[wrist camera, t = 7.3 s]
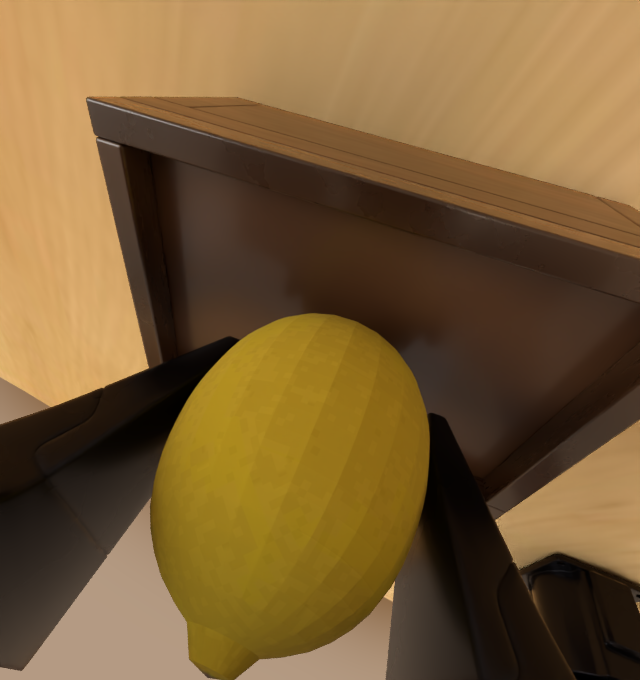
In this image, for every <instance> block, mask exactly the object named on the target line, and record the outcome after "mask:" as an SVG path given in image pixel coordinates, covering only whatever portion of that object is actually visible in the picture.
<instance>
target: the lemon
mask: <svg viewBox="0 0 640 680" xmlns="http://www.w3.org/2000/svg"><path fill="white" fill-rule="evenodd" d="M429 450H430V435H429V424H428V418H427V412H426V409H425V405H424V402H423V399H422V396H421V393H420V390H419V387H418V384H417V381H416V379H415V377H414V375H413V373H412V371H411V370H410V368H409V367H408V365H407V364H406V363H405V361H404V360H403V358H402V357H401V355H400V354H399V353H398V351H397V350H396V349H395V348H394V347H393V346H392V345H391V344H390V343H388V342H387V341H386V340H385V339H384V338H383V337H382V336H380V335H379V334H378V333H377V332H375V331H373V330H371V329H369V328H368V327H366V326H364V325H362V324H360V323H358V322H356V321H353V320H350V319H346V318H343V317H340V316H337V315H329V314H317V313H309V314H302V315H296V316H290V317H285V318H282V319H279V320H276V321H274V322H272V323H270V324H268V325H266V326H264V327H261V328H259V329H257V330H256V331H254V332H252V333H250V334H248V335H247V336H246V337H244V338H243V339H241V340H240V341H239V342H237V343H236V344H235V345H234V346H233V347H232V348H231V349H230V350H229V351H228V352H227V353H226V354H225V355H224V356H223V357H222V358H221V359H220V360H219V361H218V362H217V363H216V364H215V365H214V366H213V367H212V368H211V369H210V370H209V371H208V372H207V374H206V375H205V376H204V377H203V379H202V380H201V381H200V382H199V384H198V385H197V386H196V388H195V389H194V391H193V392H192V394H191V395H190V397H189V398H188V400H187V402H186V403H185V405H184V407H183V409H182V410H181V412H180V414H179V416H178V418H177V420H176V422H175V424H174V426H173V428H172V430H171V432H170V434H169V437H168V439H167V442H166V444H165V447H164V449H163V451H162V455H161V458H160V461H159V465H158V468H157V471H156V475H155V480H154V484H153V491H152V497H151V504H150V522H151V535H152V541H153V548H154V553H155V557H156V560H157V563H158V567H159V570H160V573H161V577H162V579H163V581H164V583H165V585H166V587H167V589H168V591H169V593H170V595H171V597H172V599H173V601H174V602H175V604H176V606H177V607H178V609H179V611H180V612H181V614H182V615H183V617H184V618H185V620H186V621H187V630H188V649H189V660H190V661H191V662H193V663H194V665H195V666H196V667H197V668H198V669H199V670H200V671H201V672H202V673H203V674H205V676H207V677H208V678H213V679H219V680H235V679H236V678H237V677H238V676H239V675H241V674H242V673H243V672H244V671H246V670H247V669H248V668H249V667H250V666H252V665H253V664H254V663H255V662H256V661H258V660H259V659H270V658H281V657H287V656H292V655H296V654H301V653H306V652H310V651H313V650H315V649H317V648H320V647H322V646H324V645H327V644H329V643H331V642H333V641H335V640H336V639H338V638H339V637H341V636H343V635H344V634H346V633H347V632H349V631H351V630H352V629H353V628H354V627H356V626H357V625H358V624H359V623H360V622H361V621H363V620H364V619H365V618H366V617H367V616H368V615H369V614H370V613H371V612H372V611H373V609H374V608H375V607H376V606H377V604H378V603H379V602H380V601H381V599H382V598H383V597H384V595H385V594H386V593H387V592H388V590H389V589H390V588H391V586H392V584H393V583H394V581H395V579H396V577H397V575H398V574H399V572H400V570H401V568H402V566H403V564H404V562H405V559H406V557H407V555H408V552H409V550H410V548H411V545H412V542H413V539H414V536H415V533H416V530H417V528H418V524H419V521H420V517H421V513H422V510H423V505H424V500H425V495H426V490H427V481H428V470H429Z"/></svg>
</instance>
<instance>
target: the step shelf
mask: <svg viewBox="0 0 640 680" xmlns="http://www.w3.org/2000/svg"><path fill="white" fill-rule="evenodd" d="M86 102H87V106H88V110H89V115H90V119H91V123H92V127H93V132H94V134H95V135H96V136H99V137H97V138H96V143H97V147H98V151H99V156H100V160H101V164H102V169H103V173H104V177H105V182H106V186H107V190H108V194H109V199H110V203H111V207H112V212H113V216H114V220H115V225H116V229H117V233H118V237H119V242H120V246H121V250H122V255H123V259H124V263H125V268H126V272H127V276H128V280H129V285H130V289H131V293H132V298H133V302H134V306H135V311H136V315H137V319H138V323H139V328H140V332H141V336H142V341H143V345H144V349H145V353H146V358H147V362H148V366H149V368H151V367H154V366H156V365H159V364H161V363H163V362H166V361H168V360H171V359H173V358H176V357H178V356H181V355H183V354H185V353H188V352H190V351H193V350H195V349H198V348H200V347H203V346H205V345H207V344H210V343H212V342H215V341H217V340H220V339H222V338H225V337H227V336H232V337H234V338H237V339H240V340H241V339H243V338H244V337H246V336H247V335H248V334H250V333H252V332H254V331H256V330H257V329H259V328H261V327H264V326H266V325H268V324H270V323H272V322H274V321H276V320H279V319H282V318H285V317H290V316H296V315H302V314H309V313H317V314H329V315H337V316H340V317H343V318H346V319H350V320H353V321H356V322H358V323H360V324H362V325H364V326H366V327H368V328H369V329H371V330H373V331H375V332H377V333H378V334H379V335H380V336H382V337H383V338H384V339H385V340H386V341H387V342H388V343H390V344H391V345H392V346H393V347H394V348H395V349H396V350H397V351H398V353H399V354H400V355H401V357H402V358H403V360H404V361H405V363H406V364H407V365H408V367H409V368H410V370H411V371H412V373H413V375H414V377H415V379H416V381H417V384H418V387H419V390H420V393H421V396H422V399H423V402H424V405H425V409H426V412H427V415H428V414H429V413H435V414H438V415H440V416H443V417H445V418H446V420H447V422H448V424H449V426H450V428H451V430H452V432H453V434H454V436H455V438H456V440H457V443H458V445H459V447H460V449H461V451H462V453H463V455H464V457H465V459H466V461H467V464H468V466H469V468H470V470H471V472H472V474H473V476H474V478H475V480H476V482H477V484H478V487H479V489H480V491H481V493H482V495H483V497H484V499H485V501H486V503H487V505H488V508H489V510H490V512H491V514H492V516H493V518H494V520H496V519H497V518H499V517H500V516H501V515H503V514H504V513H505V512H507V511H509V510H510V509H512V508H513V507H514V506H516V505H517V504H519V503H520V502H522V501H523V500H525V499H526V498H527V497H529V496H530V495H532V494H533V493H535V492H536V491H538V490H539V489H540V488H542V487H543V486H545V485H546V484H548V483H549V482H551V481H552V480H553V479H555V478H556V477H558V476H559V475H561V474H562V473H563V472H565V471H566V470H568V469H569V468H571V467H572V466H574V465H575V464H576V463H578V462H579V461H581V460H582V459H584V458H585V457H587V456H588V455H589V454H591V453H592V452H594V451H595V450H597V449H598V448H600V447H601V446H602V445H604V444H605V443H607V442H608V441H610V440H611V439H613V438H614V437H615V436H617V435H618V434H620V433H621V432H623V431H624V430H626V429H627V428H628V427H630V426H631V425H633V424H634V423H636V422H637V421H639V420H640V212H639V211H638V210H636V209H634V208H633V207H631V206H629V205H626V204H622V203H618V202H615V201H611V200H608V199H604V198H600V197H594V196H593V195H589V194H586V193H582V192H578V191H575V190H571V189H568V188H564V187H560V186H557V185H553V184H549V183H546V182H542V181H539V180H535V179H531V178H528V177H524V176H520V175H517V174H513V173H509V172H506V171H502V170H499V169H495V168H491V167H488V166H484V165H480V164H477V163H473V162H470V161H466V160H462V159H459V158H455V157H451V156H448V155H444V154H441V153H437V152H433V151H430V150H426V149H422V148H419V147H415V146H411V145H408V144H404V143H401V142H397V141H393V140H390V139H386V138H382V137H379V136H375V135H372V134H368V133H364V132H361V131H357V130H353V129H350V128H346V127H343V126H339V125H335V124H332V123H328V122H324V121H321V120H317V119H313V118H310V117H306V116H303V115H299V114H295V113H292V112H288V111H284V110H281V109H277V108H274V107H270V106H266V105H262V104H259V103H256V102H252V101H248V100H245V99H241V98H238V97H87V98H86Z"/></svg>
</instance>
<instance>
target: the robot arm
mask: <svg viewBox="0 0 640 680" xmlns="http://www.w3.org/2000/svg"><path fill="white" fill-rule="evenodd" d="M239 341H240V339H237V338H234V337H232V336H227V337H225V338H222V339H220V340H217V341H215V342H212V343H210V344H207V345H205V346H203V347H200V348H198V349H195V350H193V351H190V352H188V353H185V354H183V355H181V356H178V357H176V358H173V359H171V360H168V361H166V362H163V363H161V364H159V365H156V366H154V367H151V368H149V369H146V370H144V371H142V372H139V373H137V374H134V375H132V376H129V377H127V378H124V379H122V380H120V381H117V382H115V383H112V384H110V385H107V386H105V388H100V389H97V390H95V391H92V392H90V393H87V394H85V395H82V396H80V397H77V398H75V399H72V400H70V401H67V402H64V403H62V404H59V405H56V406H53V407H50V408H48V409H45V410H42V411H39V412H36V413H33V414H30V415H27V416H24V417H21V418H18V419H15V420H13V421H9V422H7V423H3V424H0V667H3V668H8V669H14V670H20V671H22V670H23V669H24V668H25V666H26V665H27V664H28V663H29V661H30V660H31V659H32V657H33V656H34V654H35V653H36V652H37V651H38V649H39V648H40V647H41V645H42V644H43V642H44V641H45V640H46V639H47V637H48V636H49V635H50V633H51V632H52V630H53V629H54V628H55V626H56V625H57V624H58V622H59V621H60V620H61V618H62V617H63V616H64V614H65V613H66V612H67V610H68V609H69V608H70V606H71V605H72V603H73V602H74V601H75V599H76V598H77V597H78V595H79V594H80V592H81V591H82V590H83V588H84V587H85V586H86V585H87V583H88V582H89V580H90V579H91V578H92V576H93V575H94V574H95V572H96V571H97V570H98V568H99V567H100V566H101V564H102V563H103V562H104V560H105V559H106V558H107V555H108V554H109V553H110V552H111V550H112V549H113V548H114V546H115V545H116V543H117V542H118V541H119V540H120V538H121V537H122V536H123V534H124V533H125V532H126V530H127V529H128V527H129V526H130V525H131V523H132V522H133V521H134V519H135V518H136V517H137V515H138V514H139V512H140V511H141V510H142V509H143V507H144V506H145V504H146V503H147V502H148V500H149V499H150V498H151V496H152V491H153V484H154V480H155V475H156V471H157V468H158V465H159V461H160V458H161V455H162V451H163V449H164V447H165V444H166V442H167V439H168V437H169V434H170V432H171V430H172V428H173V426H174V424H175V422H176V420H177V418H178V416H179V414H180V412H181V410H182V409H183V407H184V405H185V403H186V402H187V400H188V398H189V397H190V395H191V394H192V392H193V391H194V389H195V388H196V386H197V385H198V384H199V382H200V381H201V380H202V379H203V377H204V376H205V375H206V374H207V372H208V371H209V370H210V369H211V368H212V367H213V366H214V365H215V364H216V363H217V362H218V361H219V360H220V359H221V358H222V357H223V356H224V355H225V354H226V353H227V352H228V351H229V350H230V349H231V348H232V347H233V346H234V345H235V344H236V343H237V342H239ZM427 418H428V424H429V435H430V450H429V470H428V481H427V490H426V495H425V500H424V505H423V510H422V513H421V517H420V521H419V524H418V528H417V530H416V533H415V536H414V539H413V542H412V545H411V548H410V550H409V552H408V555H407V557H406V559H405V562H404V564H403V566H402V568H401V570H400V572H399V574H398V575H397V577H396V579H395V586H394V596H393V607H392V619H391V629H390V639H389V640H390V641H389V650H388V661H387V672H386V680H640V613H639V611H638V608H637V605H636V602H640V587H639V586H637V585H634V584H632V583H629V582H627V581H625V580H622V579H620V578H617V577H615V576H612V575H610V574H608V573H605V572H603V571H600V570H598V569H595V568H593V567H591V566H588V565H586V564H583V563H581V562H578V561H576V560H574V559H571V558H569V557H566V556H564V555H559V554H555V555H552V556H550V557H547V558H545V559H543V560H541V561H539V562H537V563H534V564H532V565H530V566H528V567H526V568H524V569H522V570H518V568H517V566H516V564H515V563H514V562H512V561H513V558H512V556H511V554H510V551H509V549H508V547H507V545H506V543H505V541H504V539H503V537H502V535H501V533H500V531H499V528H498V526H497V524H496V522H495V520H494V518H493V516H492V514H491V512H490V510H489V508H488V505H487V503H486V501H485V499H484V497H483V495H482V493H481V491H480V489H479V487H478V484H477V482H476V480H475V478H474V476H473V474H472V472H471V470H470V468H469V466H468V464H467V461H466V459H465V457H464V455H463V453H462V451H461V449H460V447H459V445H458V443H457V440H456V438H455V436H454V434H453V432H452V430H451V428H450V426H449V424H448V422H447V420H446V418H445V417H443V416H440V415H438V414H435V413H429V414H428V415H427ZM528 590H529V591H528Z"/></svg>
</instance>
